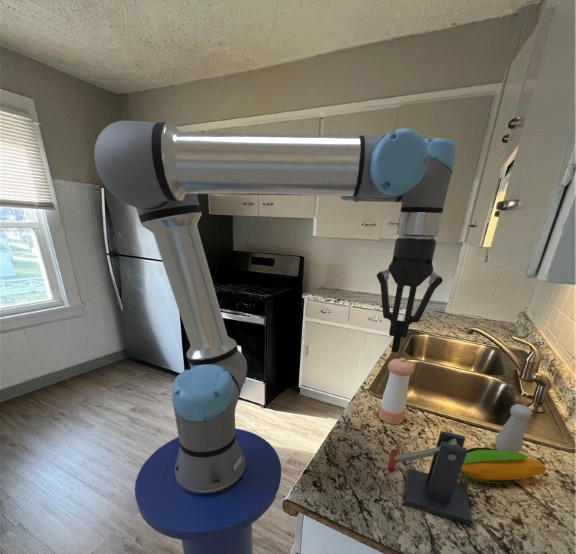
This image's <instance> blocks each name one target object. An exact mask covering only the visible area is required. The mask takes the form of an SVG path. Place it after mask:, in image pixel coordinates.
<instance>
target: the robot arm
mask: <svg viewBox="0 0 576 554" xmlns="http://www.w3.org/2000/svg"><path fill="white" fill-rule="evenodd" d="M456 149H457V148H456V144H455V142H454V141H453V140H451V139H449V138H443V137H435V138H424V137H423V136H422V135H421V134H420V133H419V132H418V131H416V130H415V129H412V128H404V127H403V128H397V129H393V130H391V131H389V132H387V133H385V134H384V135H382V134H381V135H379V134H377V135H376V134H364V135H363V134H361V135H358V134H322V133H321V134H320V133H319V134H318V133H266V132H265V133H264V132H261V133H260V132H213V131H211V132H210V131H209V132H202V131H194V132H193V131H180V130H179V129H178V128H177V127H176V125H174V123H172V122H167V121H165V122H164V121H161V122H160V121H144V120H143V121H142V120H119V121H115V122H112V123H110V124H109V125H107V126H106V127H105V128H104V129H102V131H101V132H100V133H99V135H98V137H97V139H96V141H95V144H94V150H93V151H94V152H93V154H94V157H93V158H94V164H95V168H96V172H97V174H98V176H99V178H100V180H101V182H102V184H103V185H104V186H105V188H106V189H107V190H108V192H110V193H111V195H113V196H114V197H115V198H116V199H117V200H119V201H121V202H122V203H124V204H126V205H127V206H131V207H133V208H135V210H136V213H137V217H138V219H139V222H140V225H141V226H142V227H143V228H144V229H146V230H148V231H149V232H151V233H152V235H153V238H154V240H155V244H156V246H157V249H158V252H159V256H160V259H161V261H162V265H163V267H164V270H165V274H166V276H167V279H168V283H169V285H170V288H171V291H172V294H173V297H174V300H175V303H176V306H177V310H178V312H179V315H180V318H181V321H182V324H183V327H184V330H185V333H186V336H187V339H188V342H189V348H188V350H187V352H186V354H185V355H186V358H187V360H188V364H189V367H190V368H189V369H185V370H183V371H182V372H180V373H179V374H178V375H177V376H176V378H175V379H174V380H173V383H172V388H171V402H172V403H171V404H172V407H173V413H174V418H175V422H176V430H177V435H178V436H177V437H179V443H180V449H179V453H178V455H177V456H176V458H177V460H176V464H175V477H176V482H177V484H178V486H179V487H180V488H181V489H182V490H183V491H185V492H187V493H189V494H192V495H196V496H213V495H217V494H221V493H223V492H226V491H228V490H229V489H231V488H233V487H234V486H235V485H236V484H238V483H239V481H240V480H241V479H242V477H243V476H244V473H245V469H246V463H245V456H244V454H243V452H242V450H241V448H240V446H239V444H238V441H237V439H236V429H237V428H236V408H237V405H238V402H239V399H240V397H241V394H242V393H241V392H242V390H243V387H244V385H245V382H246V381H247V380H246V379H247V376H248V375H247V374H248V363H247V361H246V357H245V356H244V355H243V353H242V352H241V351H240V350H239V348H238V345H237V342H236V339H234V338H231V337H230V336H228V332H227V329H226V326H225V320H224V317H223V314H222V310H221V307H220V304H219V300H218V295H217V292H216V290H215V286H214V281H213V278H212V275H211V271H210V268H209V264H208V260H207V256H206V253H205V249H204V245H203V242H202V239H201V235H200V231H199V228H198V224H199V221H200V219H201V217H202V216H203V213H202V209H201V205H200V201H199V197H198V195H239V196H240V195H242V196H243V195H247V196H252V195H253V196H307V197H308V196H313V197H315V196H317V197H320V196H321V197H339V198H340V199H341V200H343V201H350V202H355V203H359V202H371V203H372V202H373V203H374V202H375V203H377V202H378V203H379V202H380V203H383V202H384V203H385V202H386V203H387V202H388V203H390V202H391V203H401V207H400V213H399V217H398V223H397V229H396V234H397V235H398V236H399V237H397V238H396V239H395V243H394V248H393V254H392V260H391V262H390V264H389V265H388V268H387V267H386V269H384V270H380V271H379V272H377V274H376V279H377V280H378V282H379V284H380V294H381V296H380V297H381V307H382V317H383V318H384V319H386V320H388V321H389V322H390V325H389V331H388V336H389V337H393V339H392V345H391V350H390V352H391V353H399V350H400V346H401V340H402V339H406V338H407V336H408V333H409V328H410V325H411V324H413V323H418V322H420V320H421V318H422V316H423V314H424V313H425V310H426V308H427V307H428V304H429V303H430V300H431V298H432V296H433V295H434V292H435V290H436V289H437V288H438V287H439V286H440V285H441V284H442V283H443V277H442V276H441V275H438V273H436V272H435V271H434V266H433V262H434V261H433V260H434V256H435V250H436V246H437V241H436V239H435V237H437V236H438V235H439V233H440V228H441V224H442V218H443V215H444V214H443V213H444V207H445V202H446V199H447V194H448V190H449V186H450V182H451V177H452V175H453V172H454V164H455V158H456ZM390 275H391V277H392V279H393V280H394V282H395V284H396V289H395V290H396V291H395V297H394V303H393V308H392V312H391V306H390V293H389V284H388V283H389V282H388V281H389V279H390ZM428 278H429V279H428ZM427 279H428V284H429V285H428V287H427V288H426V290H425V293H424V295H423V296H422V298H421V300H420V303H419V304H418V307H417V309H416V311H415V313H414V314H413V315H412V312H413V308H414V304H415V299H416V295H417V294H416V293H417V289H418V287H420V285H422V284H423V283H424V282H425V281H426V280H427ZM405 287H408V288H409V293H408V297H407V303H406V308H405V314H404V319H403V320H399V315H400V310H401V305H402V299H403V298H402V297H403V293H404V288H405Z"/></svg>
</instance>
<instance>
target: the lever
mask: <svg viewBox="0 0 576 554" xmlns="http://www.w3.org/2000/svg"><path fill="white" fill-rule="evenodd" d="M441 442H442V443H446V444H450V445H454V446H458V447H460V446H459V444H458V442H457V440H456V438H454V439H450V440H446V441H441ZM439 448H440V447H436V446H435V447H432V448H431V447H430V448H427V449H422V450H419V451H418V450H417V451H414V452H409V453H405V454H400V455H398V454H399V451H398V450H397V449H395V448H391V449H390V452H389V457H388V463H387V464H388V465H387V467H386V468H387V472H389V473H395V472H396V469H397V468H396V467H397V464H399V463H404V462H409V461H413V460H419V459H424V458H428V457H433V455H438V452H439Z"/></svg>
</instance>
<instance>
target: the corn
mask: <svg viewBox="0 0 576 554" xmlns="http://www.w3.org/2000/svg"><path fill="white" fill-rule="evenodd" d="M546 470H547V466H545V465H544V464H543V463H541V462H540V461H539V460H536V459H532V458H529V457H528V455H527V454H524V453H520V452H513V451H504V450H498V449H497V448H491V447H484V446H483V447H471V448H467V454H466V457H465V460H464V463H463V465H462V468H461V471H460V474H461V475H462V476H464V477H465V478H467V479H470V480H472V481H475V482H478V483H479V482H480V483H487V484H514V483H515V484H516V483H518V484H519V481H515V480H523V479H527V478H531V477H536V476H539V475H543V474H544V473H545V472H546Z"/></svg>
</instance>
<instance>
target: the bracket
mask: <svg viewBox="0 0 576 554" xmlns="http://www.w3.org/2000/svg"><path fill="white" fill-rule="evenodd" d="M454 438H456V440H457V442H458V444H459V446H460V447H458V446H454V445H450V444H446V443H442V442H441V441H446V440H450V439H454ZM465 441H466V436H465V435H460V434H456V433H453V432H448V431H443V430H440V432H439V435H438V439H437V441H436V446H435V448H436V447H440V448H439V452H438V455H433V456H432V459H431V463H430V466H429V469H428V473H427V472H424V471H421V470H418V469H417V470H416V469H413V468H410V467H409V468H407V474H406V486H405V497H404V505H405V506H409V507H412V508H415V509H418V510H421V511H424V512H427V513H431V514H434V515H436V516H440V517H443V518H447V519H449V520H453V521H456V522H459V523H462V524H465V525H468V526H470V525H471V523H472V516H471V509H470V501H469V494H468V487H467V486H468V485H467V483H464V482H460V481H458V480H459V477H460V474H461V473H460V471H461V468H462V465H463V463H464V460H465V457H466V454H468V453H467V450H468V448H466V447H464V444H465Z"/></svg>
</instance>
